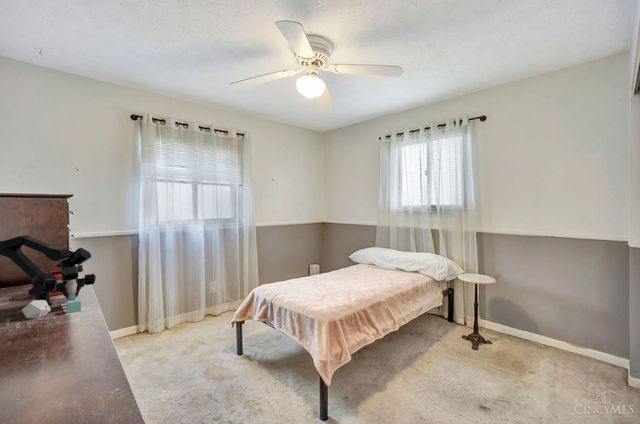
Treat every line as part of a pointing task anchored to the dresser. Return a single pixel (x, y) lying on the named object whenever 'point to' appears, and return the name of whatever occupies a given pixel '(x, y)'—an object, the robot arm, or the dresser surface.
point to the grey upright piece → (70, 295)
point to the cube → (73, 306)
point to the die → (36, 309)
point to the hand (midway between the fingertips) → (72, 297)
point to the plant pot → (58, 277)
